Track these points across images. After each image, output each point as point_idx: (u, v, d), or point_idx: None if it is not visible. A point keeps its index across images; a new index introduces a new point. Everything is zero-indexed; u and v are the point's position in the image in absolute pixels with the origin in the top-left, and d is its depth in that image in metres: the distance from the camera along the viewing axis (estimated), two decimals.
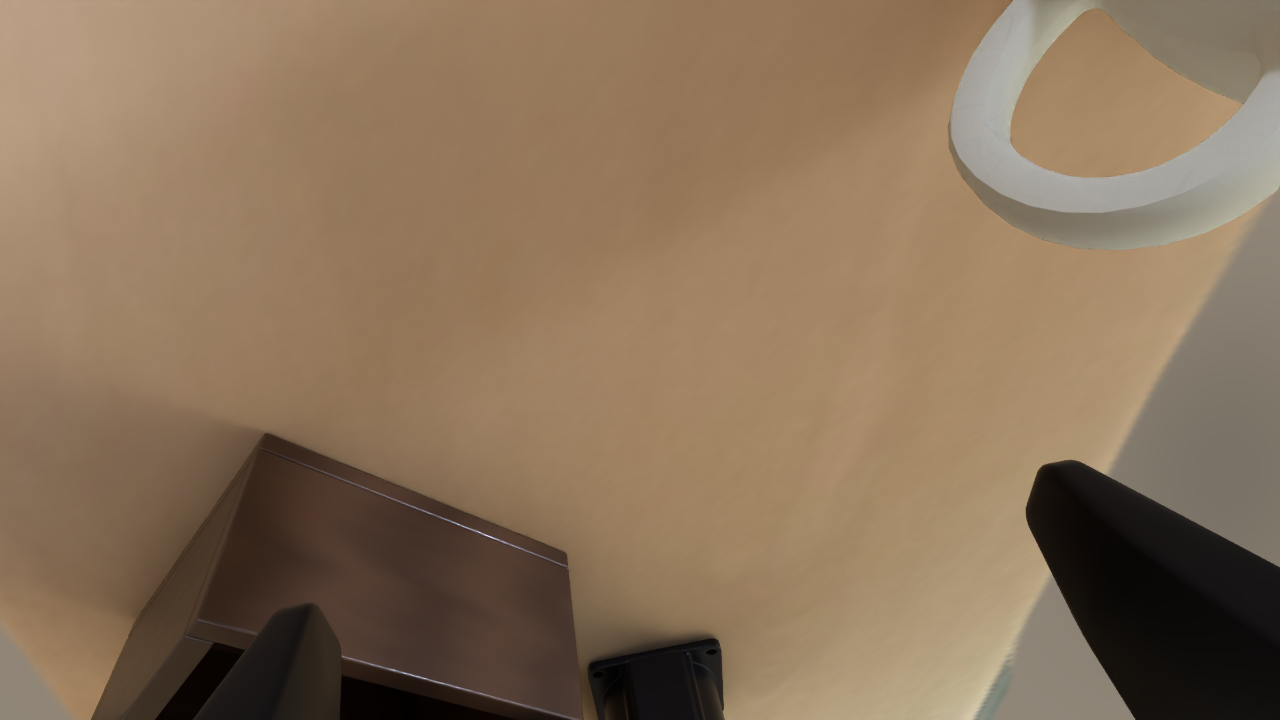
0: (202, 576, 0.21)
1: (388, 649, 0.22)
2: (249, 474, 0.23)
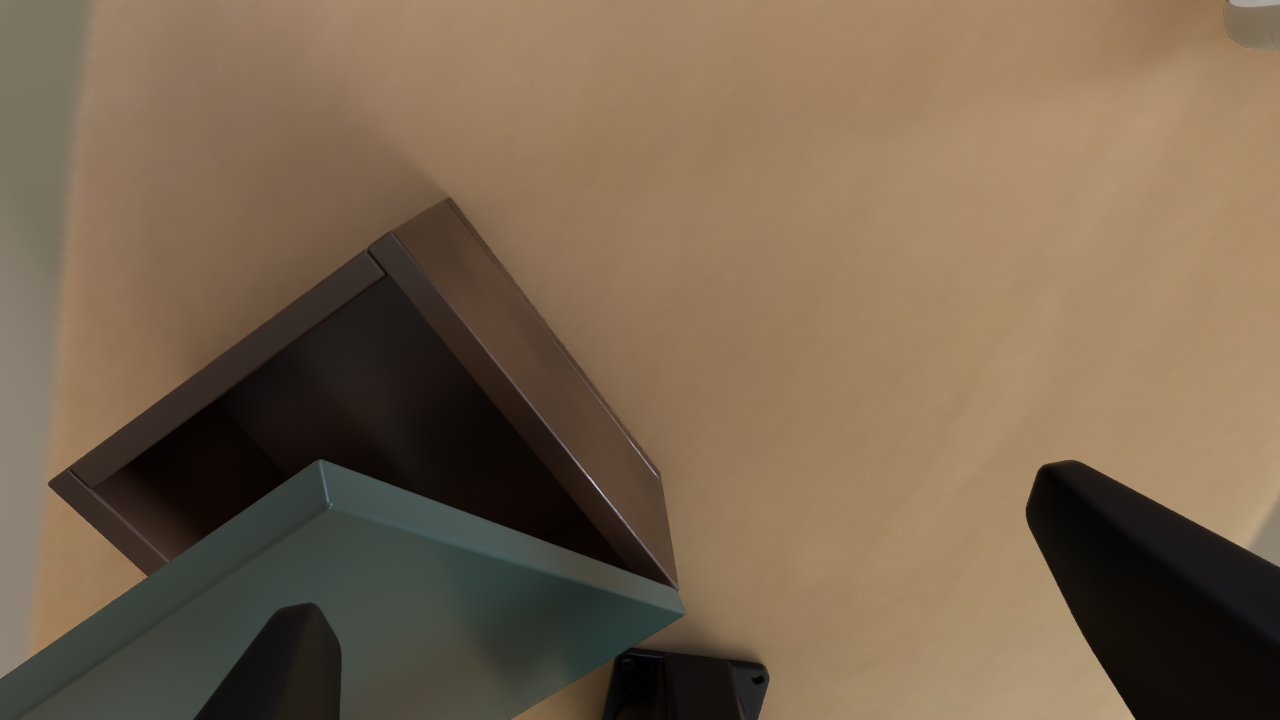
0: None
1: (528, 389, 0.20)
2: (436, 204, 0.23)
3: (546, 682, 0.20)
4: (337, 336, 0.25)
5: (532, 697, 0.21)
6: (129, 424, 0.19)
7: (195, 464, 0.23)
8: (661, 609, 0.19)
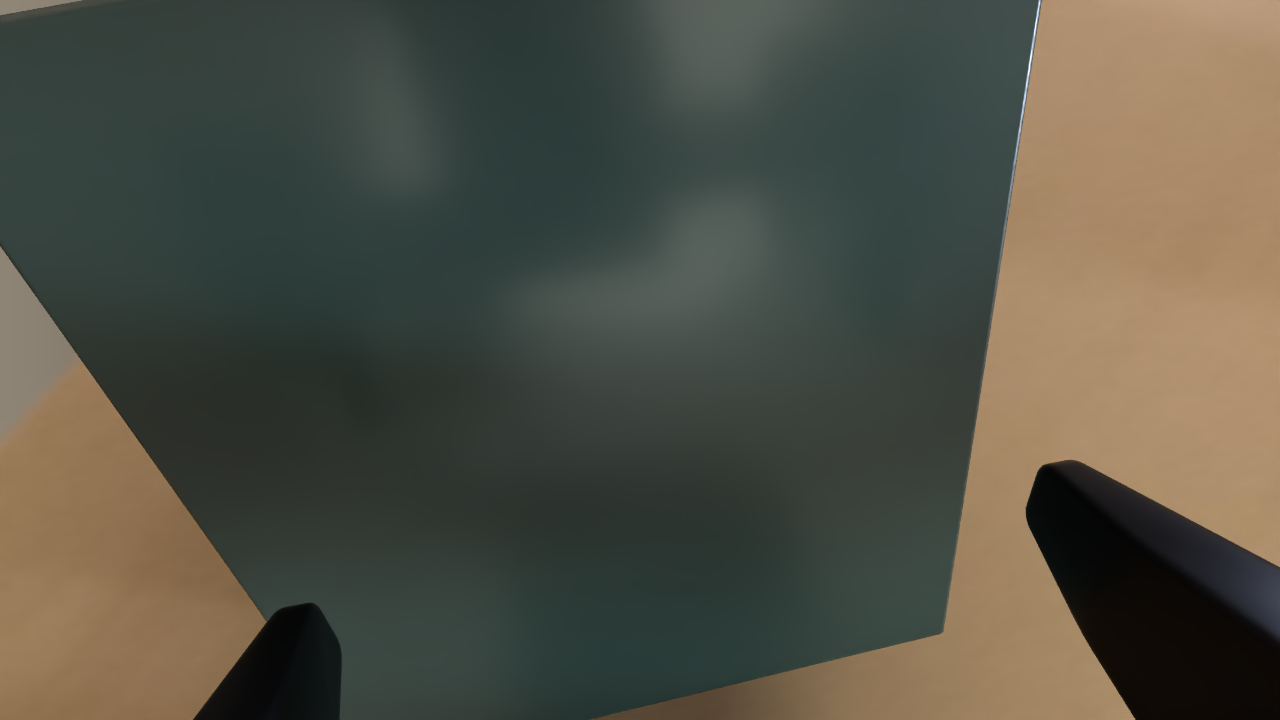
0: None
1: None
2: None
3: (748, 639, 0.14)
4: None
5: (708, 666, 0.14)
6: None
7: None
8: (946, 583, 0.14)
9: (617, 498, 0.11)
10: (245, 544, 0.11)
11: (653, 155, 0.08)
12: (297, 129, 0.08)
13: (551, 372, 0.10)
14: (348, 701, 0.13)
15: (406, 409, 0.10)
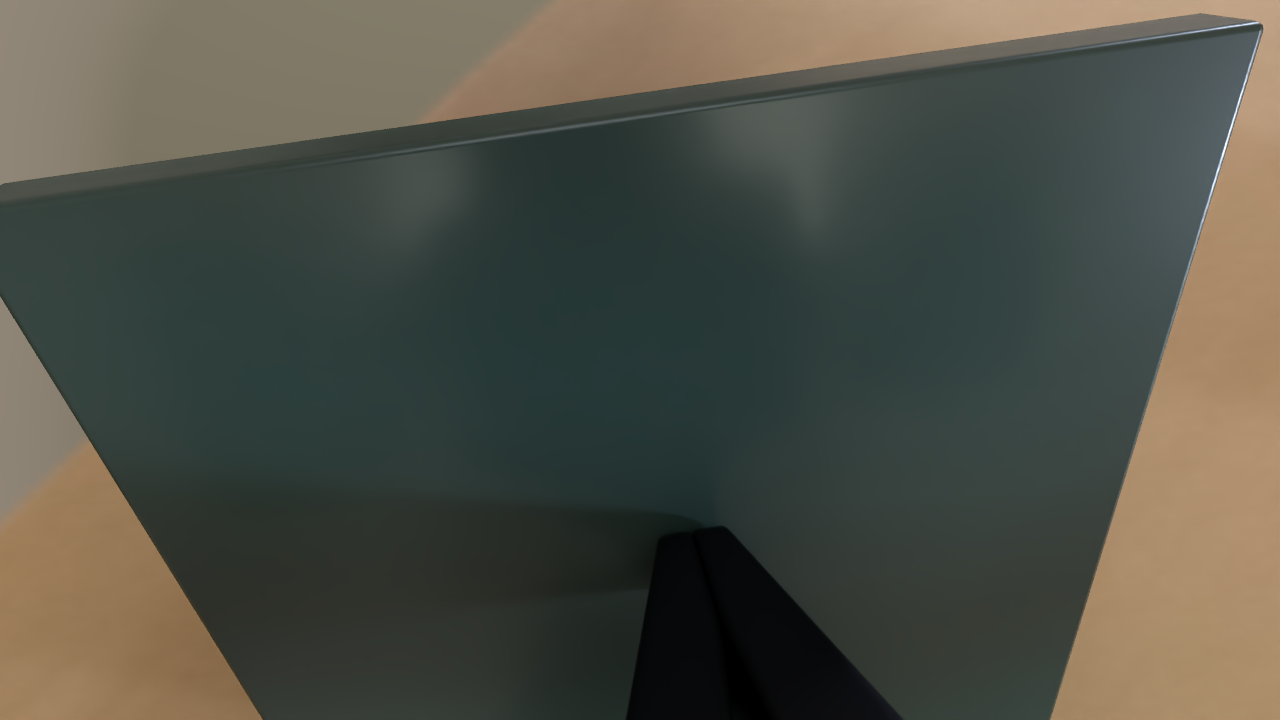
0: None
1: None
2: None
3: None
4: None
5: None
6: None
7: None
8: None
9: None
10: (295, 712, 0.10)
11: (788, 331, 0.08)
12: (412, 301, 0.07)
13: (649, 543, 0.09)
14: None
15: (488, 578, 0.09)
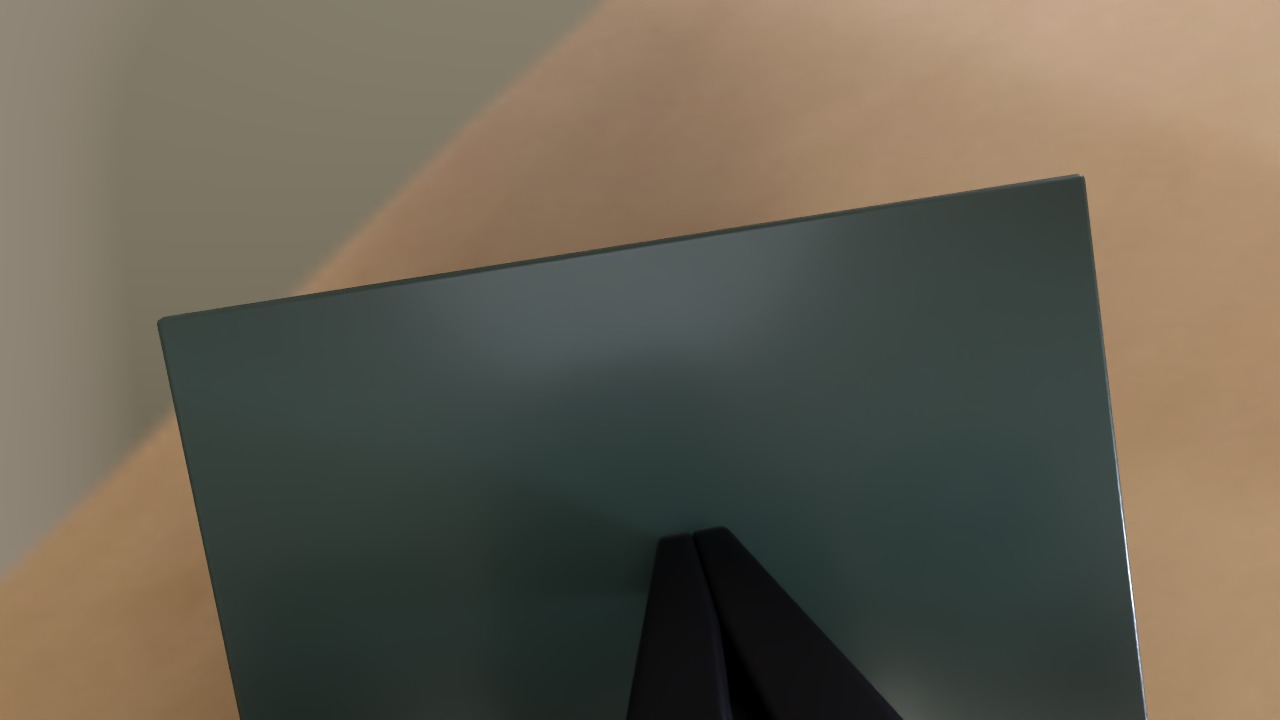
0: None
1: None
2: None
3: None
4: None
5: None
6: None
7: None
8: None
9: None
10: None
11: (767, 418, 0.09)
12: (465, 388, 0.09)
13: None
14: None
15: (511, 683, 0.09)
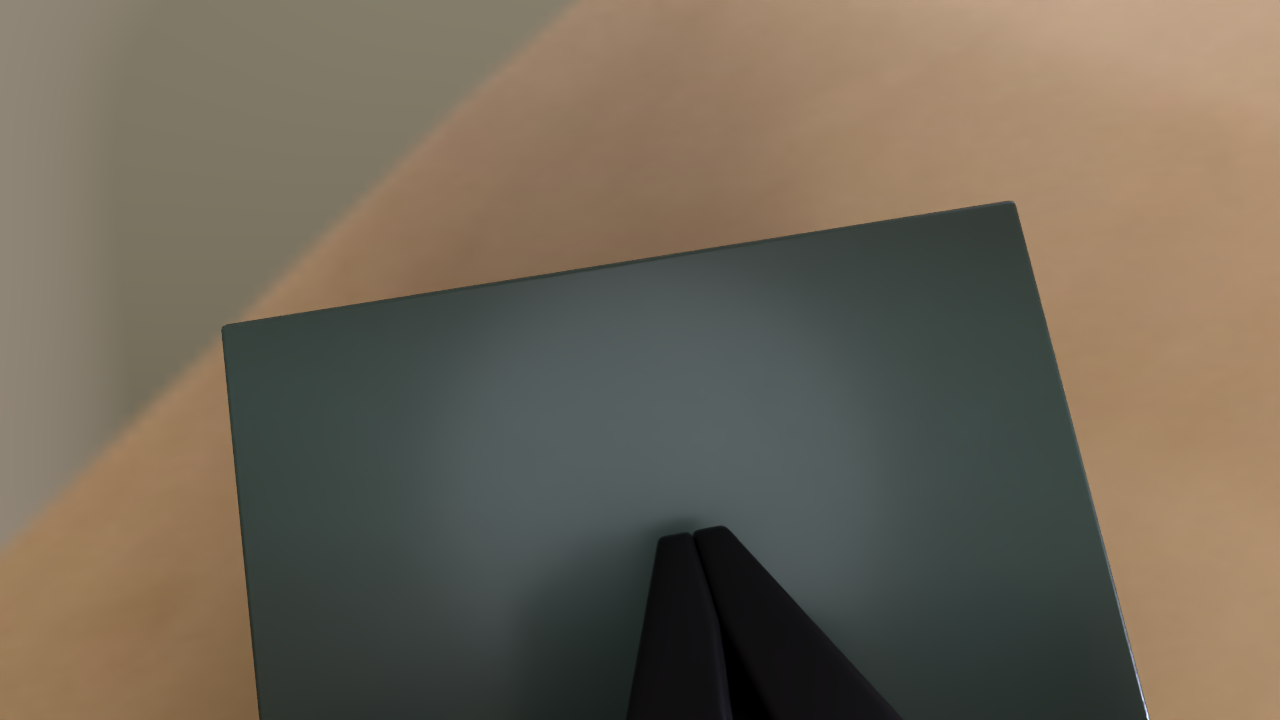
0: None
1: None
2: None
3: None
4: None
5: None
6: None
7: None
8: None
9: None
10: None
11: (750, 410, 0.10)
12: (480, 383, 0.10)
13: None
14: None
15: (514, 663, 0.10)
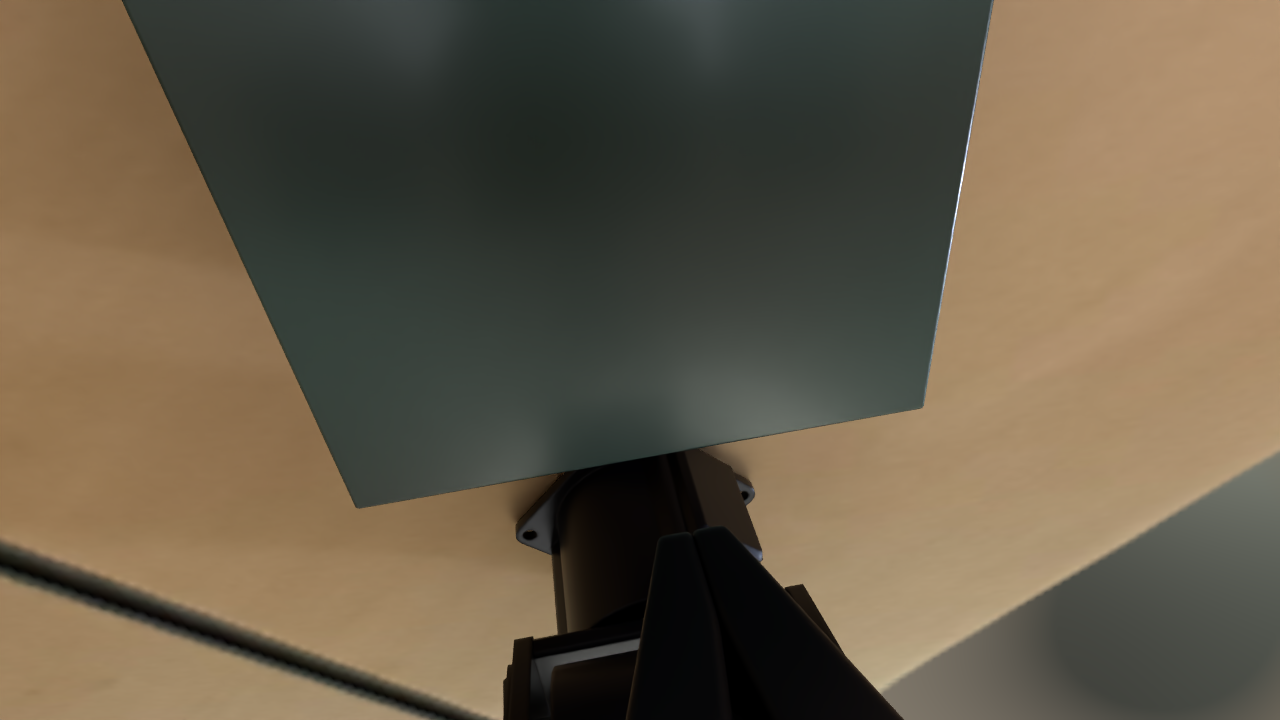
0: None
1: None
2: None
3: (733, 388, 0.14)
4: None
5: (692, 417, 0.14)
6: None
7: None
8: (929, 343, 0.14)
9: (614, 187, 0.11)
10: (242, 194, 0.11)
11: None
12: None
13: (557, 14, 0.10)
14: (335, 412, 0.13)
15: (411, 41, 0.10)
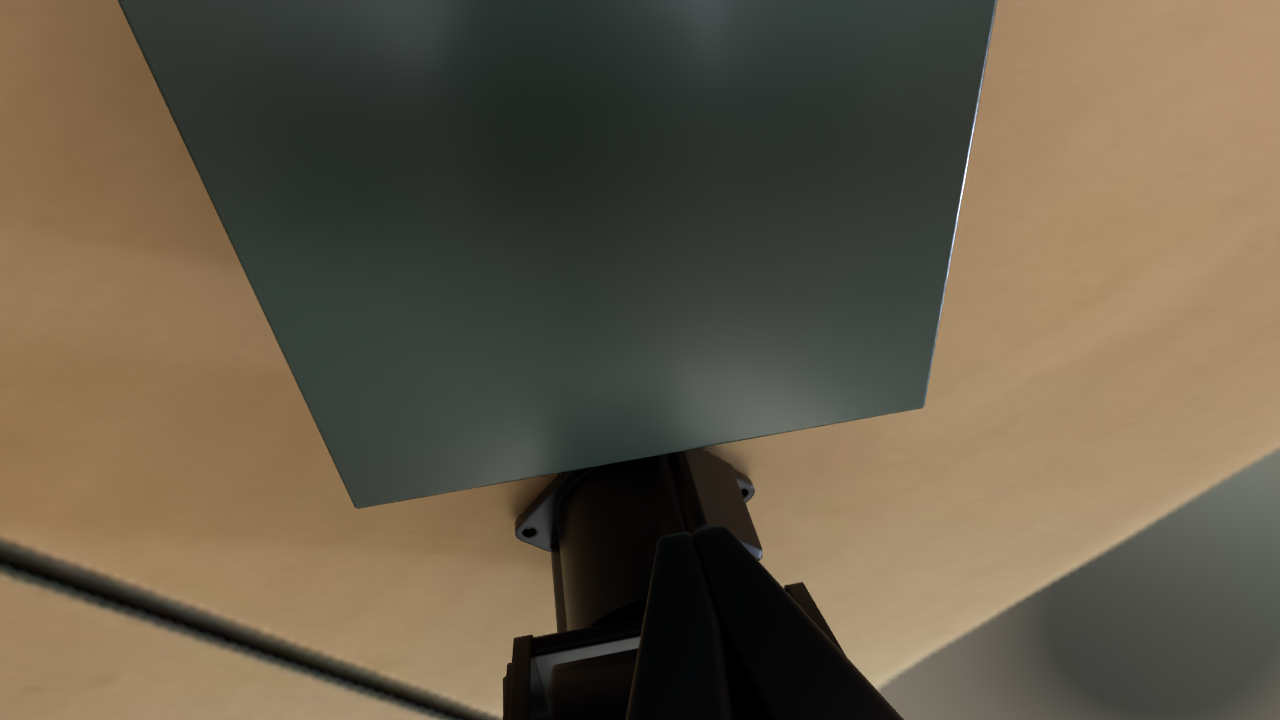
0: None
1: None
2: None
3: (734, 388, 0.14)
4: None
5: (693, 417, 0.14)
6: None
7: None
8: (930, 343, 0.14)
9: (614, 187, 0.11)
10: (239, 194, 0.11)
11: None
12: None
13: (557, 13, 0.10)
14: (334, 413, 0.13)
15: (410, 40, 0.10)
